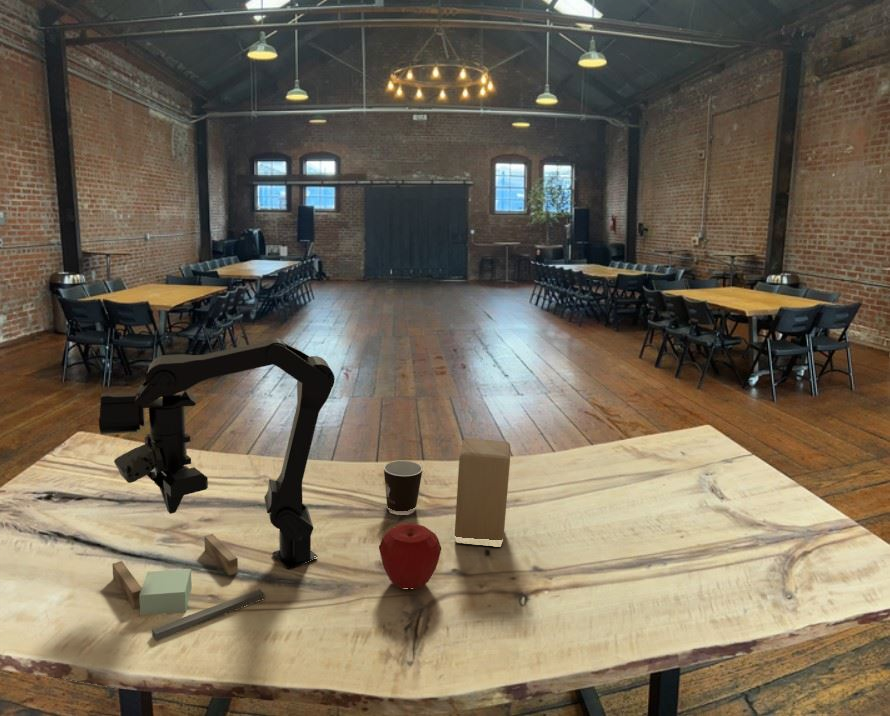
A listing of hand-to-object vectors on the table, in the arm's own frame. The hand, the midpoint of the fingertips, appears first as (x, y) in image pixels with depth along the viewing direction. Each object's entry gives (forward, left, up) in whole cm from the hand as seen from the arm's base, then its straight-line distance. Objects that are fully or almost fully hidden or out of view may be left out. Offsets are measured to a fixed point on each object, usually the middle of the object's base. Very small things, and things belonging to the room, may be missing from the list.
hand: (171, 512), depth 120 cm
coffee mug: (-3, -50, -12) cm, 51 cm away
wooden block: (-23, -55, -12) cm, 61 cm away
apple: (-28, -32, -12) cm, 44 cm away
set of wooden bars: (-6, 0, -12) cm, 14 cm away
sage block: (-8, +4, -12) cm, 15 cm away
